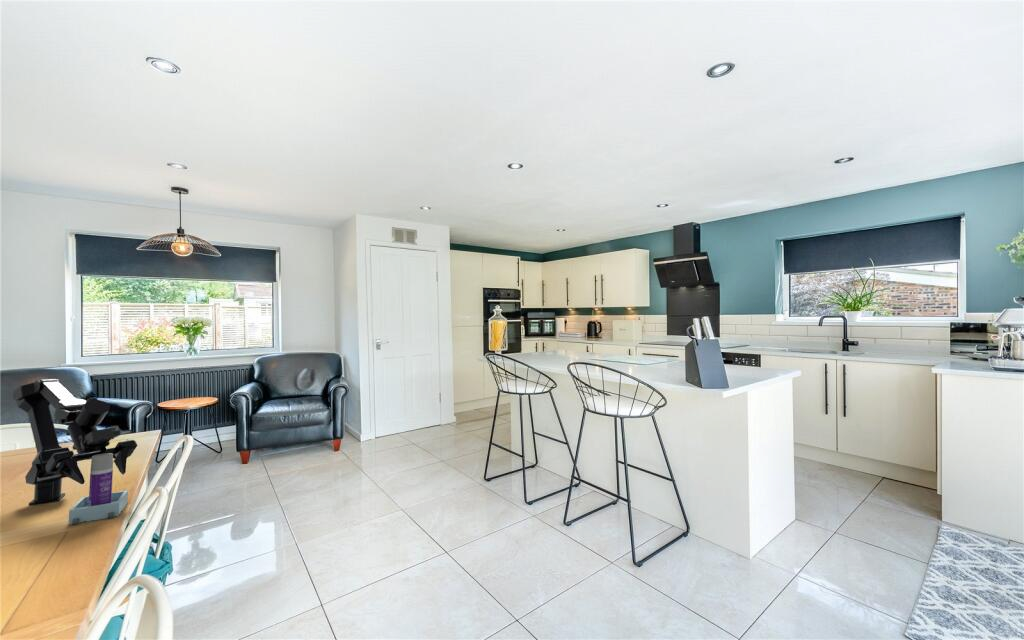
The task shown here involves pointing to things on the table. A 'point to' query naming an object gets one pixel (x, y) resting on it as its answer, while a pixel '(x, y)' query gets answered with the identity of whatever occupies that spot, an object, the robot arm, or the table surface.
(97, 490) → the container
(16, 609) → the table surface
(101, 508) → the cart
